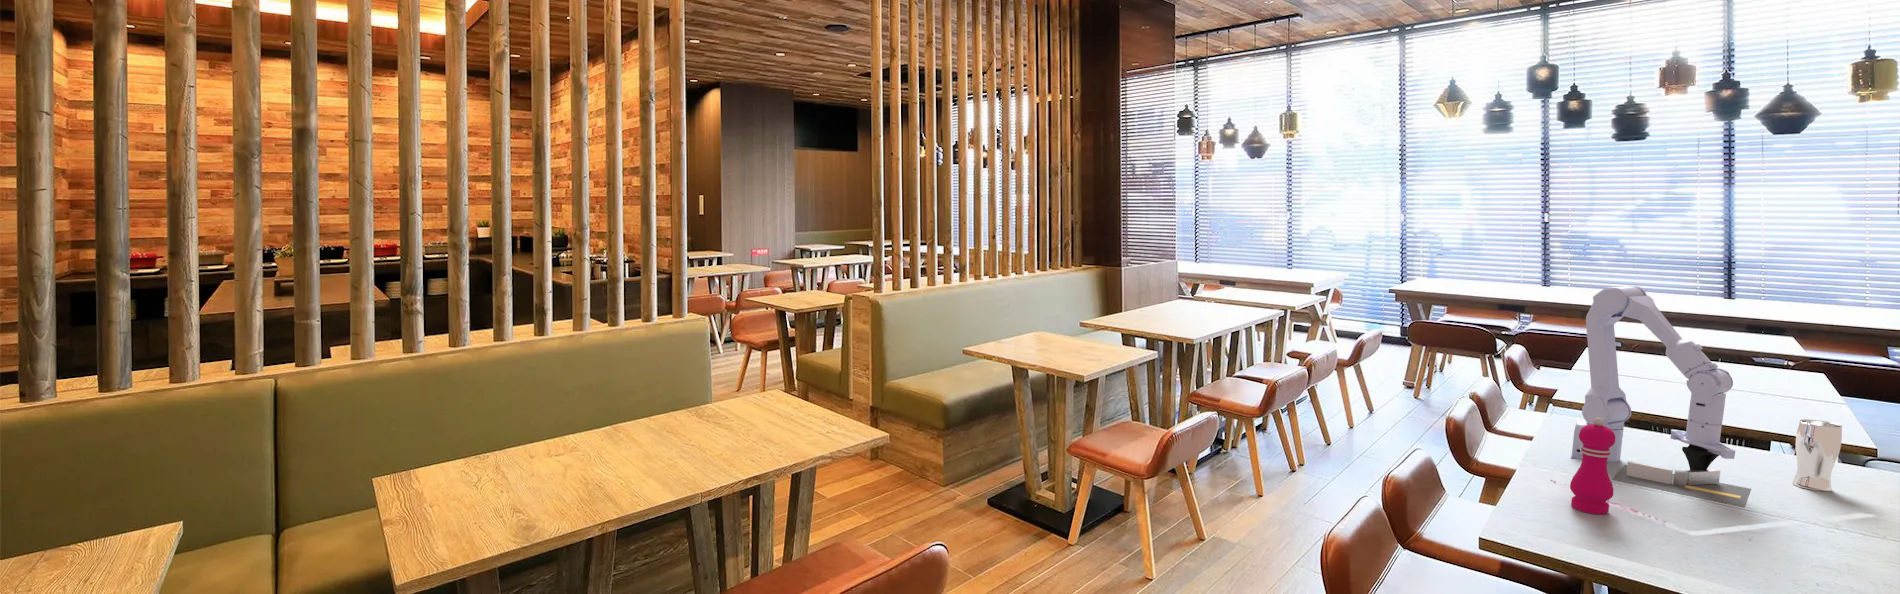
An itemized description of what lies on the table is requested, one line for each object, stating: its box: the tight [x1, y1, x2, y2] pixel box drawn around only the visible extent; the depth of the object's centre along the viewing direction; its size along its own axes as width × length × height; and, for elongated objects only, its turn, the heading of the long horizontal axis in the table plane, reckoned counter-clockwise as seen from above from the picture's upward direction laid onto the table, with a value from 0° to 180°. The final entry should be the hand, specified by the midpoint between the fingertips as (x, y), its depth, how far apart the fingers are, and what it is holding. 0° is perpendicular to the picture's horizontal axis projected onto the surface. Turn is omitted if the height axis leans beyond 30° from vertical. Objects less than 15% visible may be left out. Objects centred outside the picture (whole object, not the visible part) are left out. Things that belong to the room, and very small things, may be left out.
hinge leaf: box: [1685, 468, 1721, 485], centre depth 182 cm, size 8×1×3 cm, turn 96°
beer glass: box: [1792, 418, 1843, 492], centre depth 182 cm, size 7×7×15 cm
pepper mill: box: [1569, 418, 1615, 515], centre depth 169 cm, size 7×7×20 cm
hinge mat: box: [1611, 460, 1752, 508], centre depth 182 cm, size 22×16×4 cm
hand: (1696, 478), depth 184 cm, fingers closed
